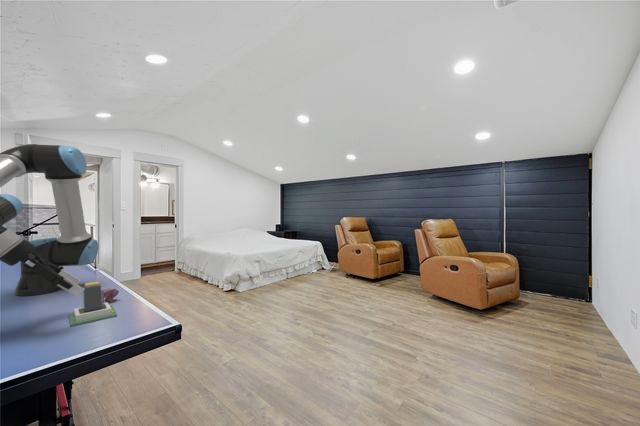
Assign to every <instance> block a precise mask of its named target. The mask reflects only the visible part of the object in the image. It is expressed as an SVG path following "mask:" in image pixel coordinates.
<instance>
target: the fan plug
mask: <svg viewBox="0 0 640 426" xmlns="http://www.w3.org/2000/svg"><path fill="white" fill-rule="evenodd" d="M82 288H84V289H85V290H84V291H83V292H82V293H83V294H82V296H83V299H82V300H83V307H84V313H87V312H92V311H97V310H102V309H104V303H105V298H104V294H103V290H104V288H102V286H101V284H100V282H99V281H98V280H97V281H91V282H85V283H84V285H82Z"/></svg>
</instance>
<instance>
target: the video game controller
mask: <svg viewBox="0 0 640 426" xmlns="http://www.w3.org/2000/svg"><path fill="white" fill-rule="evenodd" d="M119 293H120V291H119V290H118V289H116V288H114V287H111V288H103V294H104V303H107V302H108V303H110V302H112V300H113V299H114V298H116V297H117V296H118V294H119Z"/></svg>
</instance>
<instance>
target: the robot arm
mask: <svg viewBox="0 0 640 426" xmlns="http://www.w3.org/2000/svg"><path fill="white" fill-rule="evenodd" d="M34 173H35V174H44V178H45V180H46V181H48V182H50V184H51V187H52V193H53V198H54V199H53V200H54V204H55V210H56V215H57V221H58V226H59V231H60V232H59V233H60V236H58V238H57V237H50V238H48V237H47V238H42V239H41V238H40V239H35V240H26V239H23V240H22V238H23V237H22V236H21V235H19V234H17V233H16V232H14V231H12V230H11V229H9V228H7V227H5V226H4V225H5V224H7V223H8V222H10V221H11V220H14V219H15V218H16V217H17V216H18V215H19V214H21V212H22V211H23V210H24V204H23V202H22V201H21V199H19V198H18V197H17V196H15V195H12V194H8V193H2V194H0V262H2V263H4V264H6V265H8V266H10V267H13V266H15V265H16V264H18V263H19V262H20V277H19V279H18V280H19V281H17V285H16V286H15V289H14V290H15V295H16V296H19V297H28V296H36V295H37V296H38V295H43V294H48V293H49V294H50V293H52V292H57V291H60V290H64V291H66V292H67V293H70V294H71V295H73V296H75V297H78V296H79V295H81V293H83V291H84V290H85V289H84V288H83V286H80V285H79V283H80V282H81V280H80V278H77V277H76V276H74V275H72V274H71V273H69V272H67V271H65V270H64V267H71V266H72V267H74V266H75V267H76V266H79V267H81V266H86V265H87V266H88V265H91V264H92V263H94V262H95V261H96V259H97V255H98V254H99V247H100V246H99V241H98V240H97V239H94V238H92V234H90V233H88V232H87V230H86V229H87V228H86V222H85V216H84V209H83V204H82V203H83V202H82V198H81V192H80V191H81V190H80V184H79V181H80V180H81V179H82V178H83V175H84V174H86V173H87V160H86V157H85V156H84V154H83V152H82V151H81V150H80V149H79V148H78V147H75V146H70V145H64V144H63V145H57V144H54V145H53V144H36V143H35V144H34V143H29V144H21V145H17V146H14V147H10V148H9V149H6V150H4V151H1V152H0V189H1V188H2V187H4V186H5V185H6V184H7V183H9V182H10V181H11V180H13V179H14V178H20V177H23V176H24V175H25V174H26V175H27V174H34Z"/></svg>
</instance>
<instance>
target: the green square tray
mask: <svg viewBox="0 0 640 426" xmlns="http://www.w3.org/2000/svg"><path fill="white" fill-rule="evenodd" d="M73 310H74V312H72V313H69V314H68V319H69V320H68V321H69V326H70V328H71V327H76V326H79V325H80V326H81V325H84V324H85V325H86V324H89V323H93V322H97V321H103V320H107V319H112V318H115V317H116V318H117V317H118V313H117V312H116V310H115V308H114V307H113V305H110V304H109V302H104V309H102V310H97V311H92V312H87V313H84V306H82V307H76V308H74V309H73Z"/></svg>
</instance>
